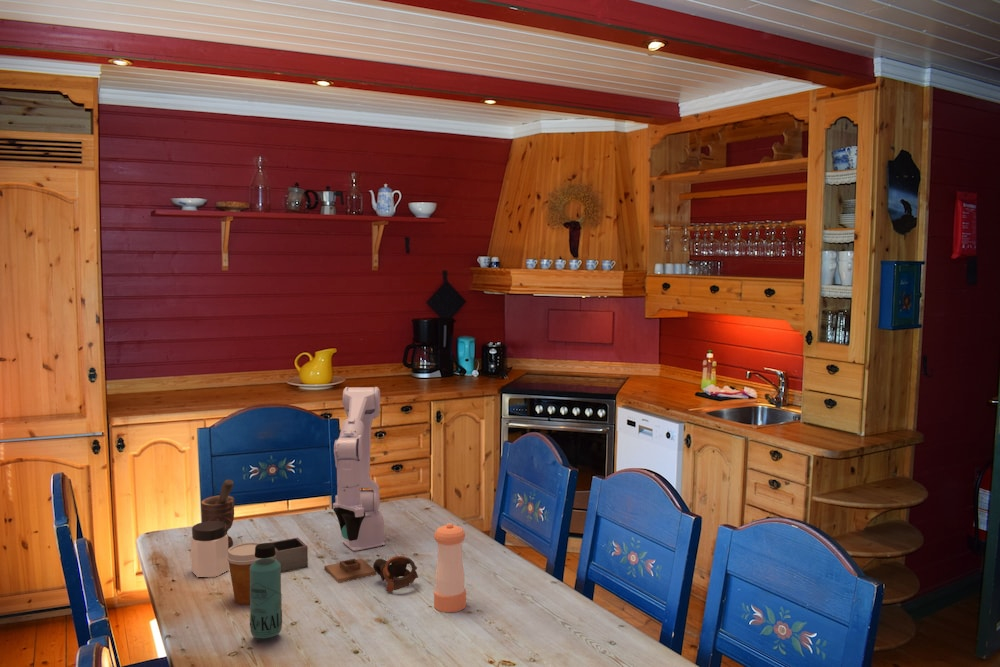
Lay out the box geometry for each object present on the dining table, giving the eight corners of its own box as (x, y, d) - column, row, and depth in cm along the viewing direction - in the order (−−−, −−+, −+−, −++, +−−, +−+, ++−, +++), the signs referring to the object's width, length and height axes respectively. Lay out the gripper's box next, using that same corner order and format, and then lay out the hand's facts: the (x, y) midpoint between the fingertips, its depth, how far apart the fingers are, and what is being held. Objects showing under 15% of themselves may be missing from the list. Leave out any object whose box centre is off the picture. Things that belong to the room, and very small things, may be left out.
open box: (298, 557, 209) (297, 537, 209) (307, 567, 202) (307, 546, 202) (268, 563, 205) (267, 542, 204) (276, 573, 198) (276, 552, 198)
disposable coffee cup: (278, 598, 183) (277, 548, 182) (240, 611, 176) (239, 559, 175) (257, 587, 189) (255, 538, 188) (219, 599, 182) (218, 549, 182)
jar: (233, 573, 198) (231, 526, 197) (200, 581, 193) (198, 533, 192) (220, 563, 205) (219, 518, 204) (188, 570, 200) (187, 524, 199)
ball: (354, 535, 201) (353, 520, 201) (360, 540, 198) (359, 524, 197) (339, 538, 199) (338, 522, 199) (344, 542, 196) (344, 527, 195)
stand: (361, 562, 206) (361, 552, 206) (376, 574, 197) (376, 564, 197) (324, 569, 201) (324, 560, 200) (338, 582, 192) (338, 573, 192)
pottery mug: (423, 580, 195) (425, 559, 190) (406, 610, 187) (407, 588, 183) (380, 563, 198) (381, 542, 193) (362, 592, 190) (361, 570, 186)
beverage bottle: (254, 632, 166) (251, 539, 164) (286, 630, 167) (283, 538, 165) (246, 646, 160) (244, 550, 158) (280, 645, 160) (277, 549, 159)
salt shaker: (441, 614, 174) (441, 530, 173) (429, 602, 181) (428, 521, 179) (471, 608, 178) (471, 525, 176) (458, 596, 184) (457, 516, 183)
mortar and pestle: (250, 544, 219) (248, 474, 217) (228, 555, 211) (226, 482, 209) (218, 539, 224) (216, 470, 222) (195, 549, 216) (193, 477, 214)
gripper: (323, 480, 201) (324, 531, 202) (344, 494, 189) (345, 548, 190) (349, 476, 205) (350, 527, 206) (371, 489, 193) (372, 543, 194)
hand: (349, 537), depth 198 cm, fingers closed on ball, 4 cm apart
